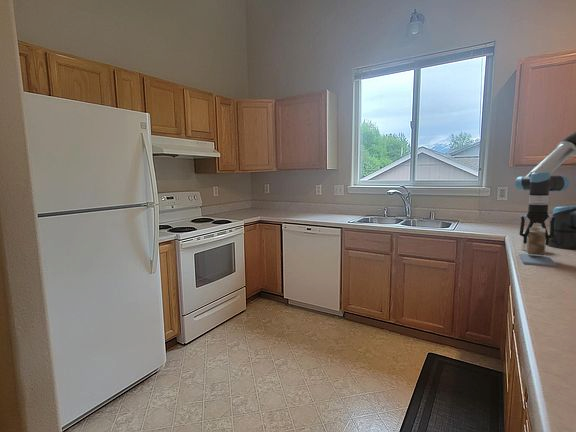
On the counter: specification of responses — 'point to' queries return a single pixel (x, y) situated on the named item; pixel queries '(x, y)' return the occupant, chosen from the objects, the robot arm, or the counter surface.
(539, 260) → the slate mat
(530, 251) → the beige canister
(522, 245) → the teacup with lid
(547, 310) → the counter surface
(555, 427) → the counter surface
